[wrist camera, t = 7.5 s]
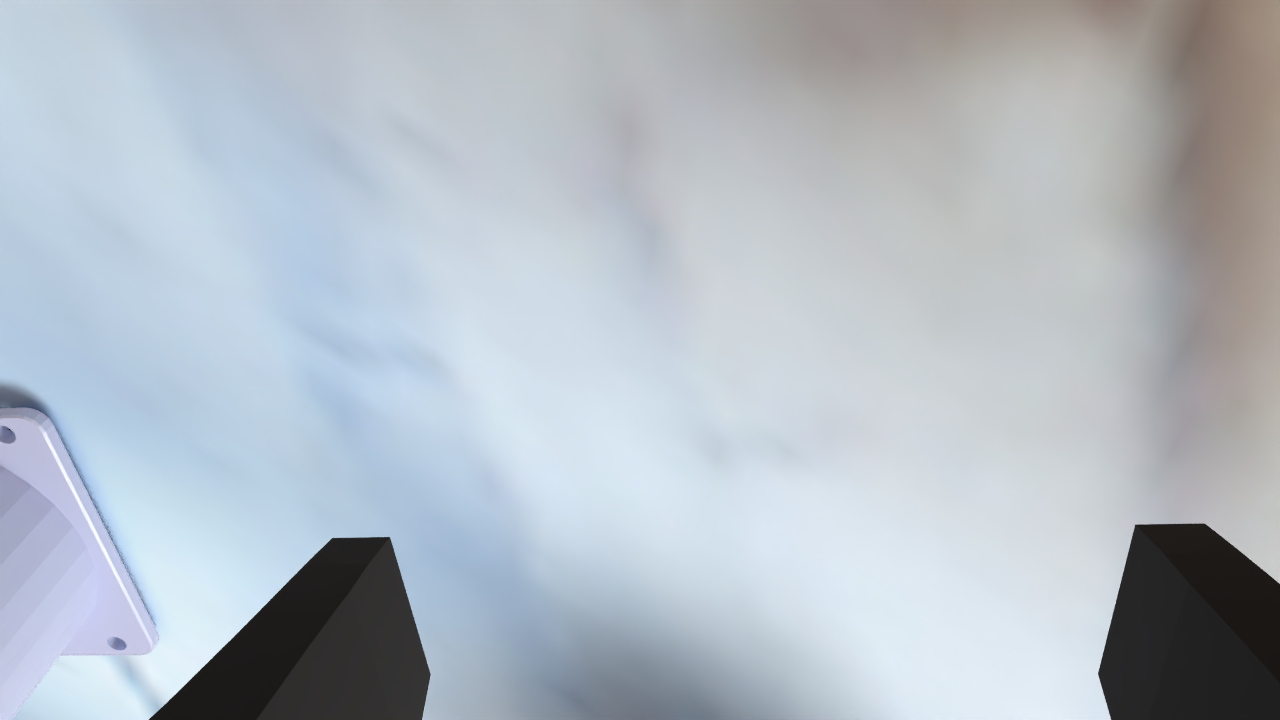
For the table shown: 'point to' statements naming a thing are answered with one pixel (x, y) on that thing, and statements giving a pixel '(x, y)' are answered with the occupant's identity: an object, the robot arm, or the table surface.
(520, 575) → the table surface
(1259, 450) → the table surface
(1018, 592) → the table surface
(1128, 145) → the table surface
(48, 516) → the robot arm
